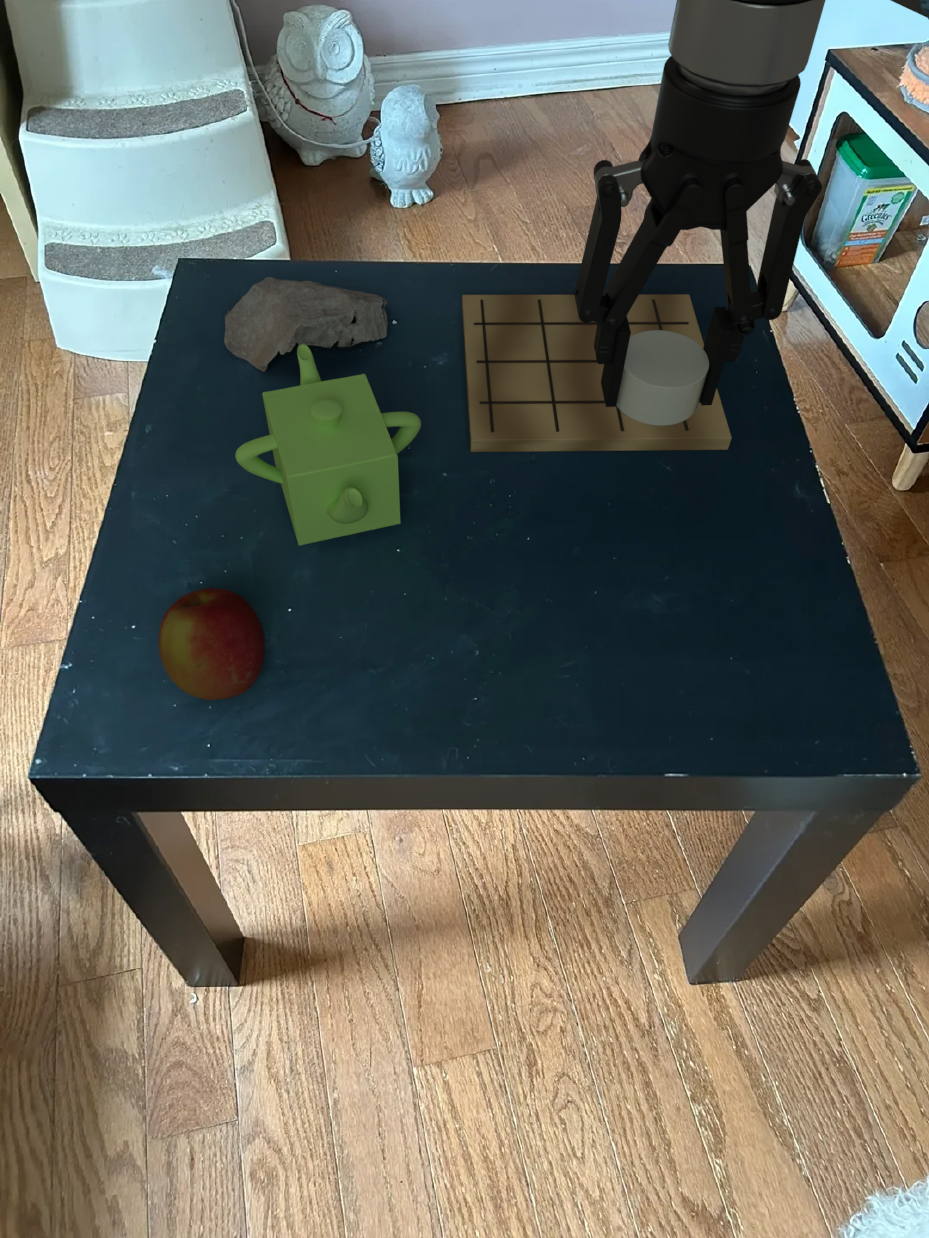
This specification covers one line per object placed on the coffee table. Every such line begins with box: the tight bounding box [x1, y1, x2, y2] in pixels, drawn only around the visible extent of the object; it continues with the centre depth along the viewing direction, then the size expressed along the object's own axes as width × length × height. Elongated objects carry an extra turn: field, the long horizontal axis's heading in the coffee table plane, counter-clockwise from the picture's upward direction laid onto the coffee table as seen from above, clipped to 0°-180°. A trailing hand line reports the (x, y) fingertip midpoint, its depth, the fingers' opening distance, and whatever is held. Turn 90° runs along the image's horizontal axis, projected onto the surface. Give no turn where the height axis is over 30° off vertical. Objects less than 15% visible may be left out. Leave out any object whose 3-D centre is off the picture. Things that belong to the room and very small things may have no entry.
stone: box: [223, 276, 389, 373], centre depth 96 cm, size 15×8×15 cm
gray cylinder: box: [616, 330, 709, 426], centre depth 70 cm, size 6×6×4 cm
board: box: [461, 293, 732, 453], centre depth 95 cm, size 24×22×2 cm
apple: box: [158, 587, 266, 701], centre depth 70 cm, size 8×8×8 cm
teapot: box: [235, 344, 422, 546], centre depth 80 cm, size 15×13×11 cm
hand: (655, 393), depth 71 cm, fingers closed on gray cylinder, 6 cm apart
